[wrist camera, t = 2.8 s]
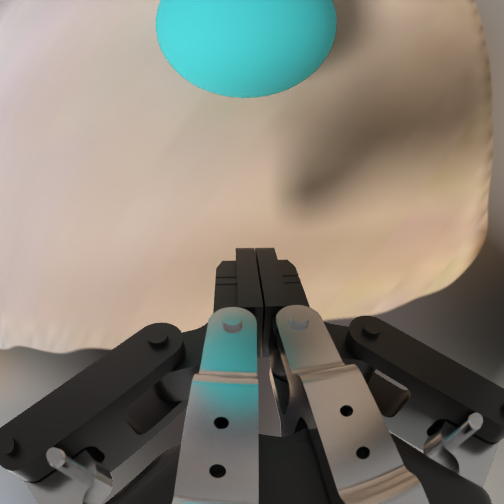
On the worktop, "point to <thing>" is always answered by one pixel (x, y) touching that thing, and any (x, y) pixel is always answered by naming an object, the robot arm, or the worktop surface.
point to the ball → (246, 42)
